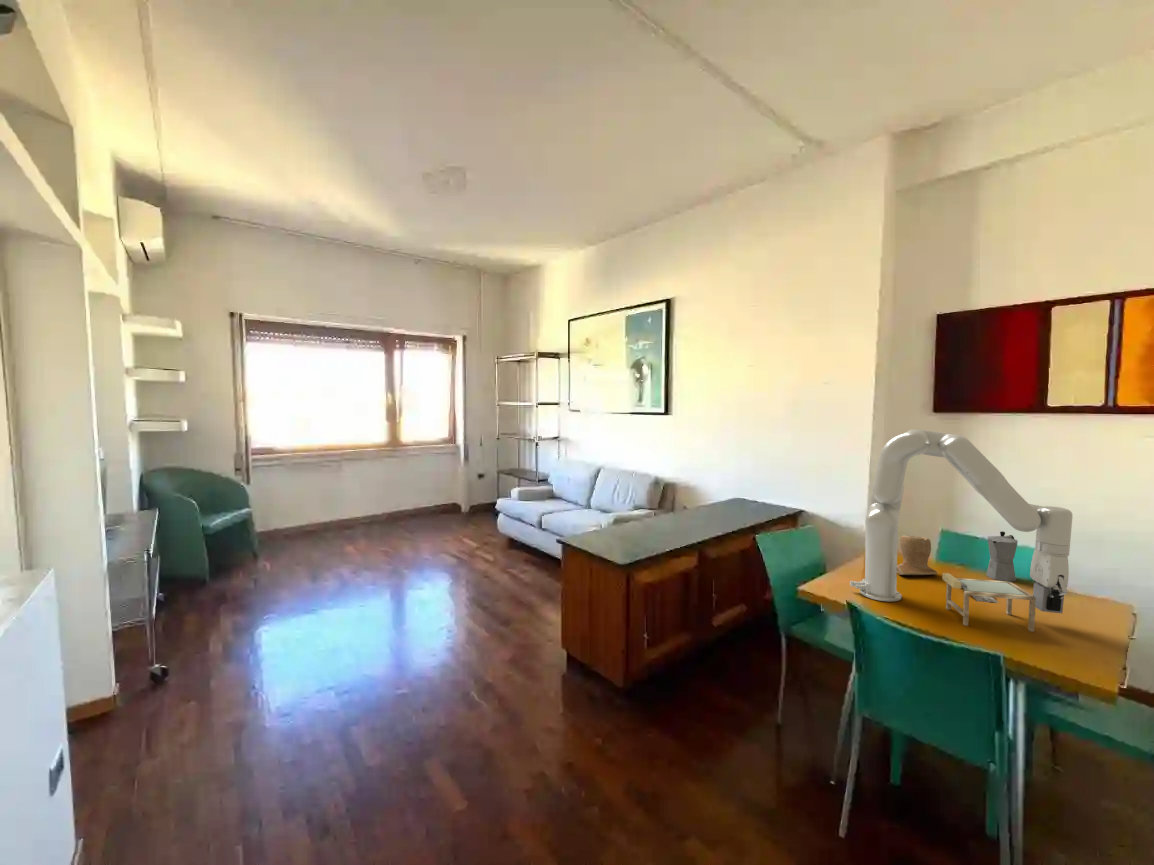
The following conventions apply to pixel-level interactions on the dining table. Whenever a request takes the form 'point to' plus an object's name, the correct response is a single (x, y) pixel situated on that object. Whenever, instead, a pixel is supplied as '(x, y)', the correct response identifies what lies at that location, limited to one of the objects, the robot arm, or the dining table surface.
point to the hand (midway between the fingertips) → (1047, 605)
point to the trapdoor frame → (965, 610)
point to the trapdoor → (980, 585)
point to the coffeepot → (1002, 557)
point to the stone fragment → (985, 599)
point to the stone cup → (915, 556)
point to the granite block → (1044, 597)
